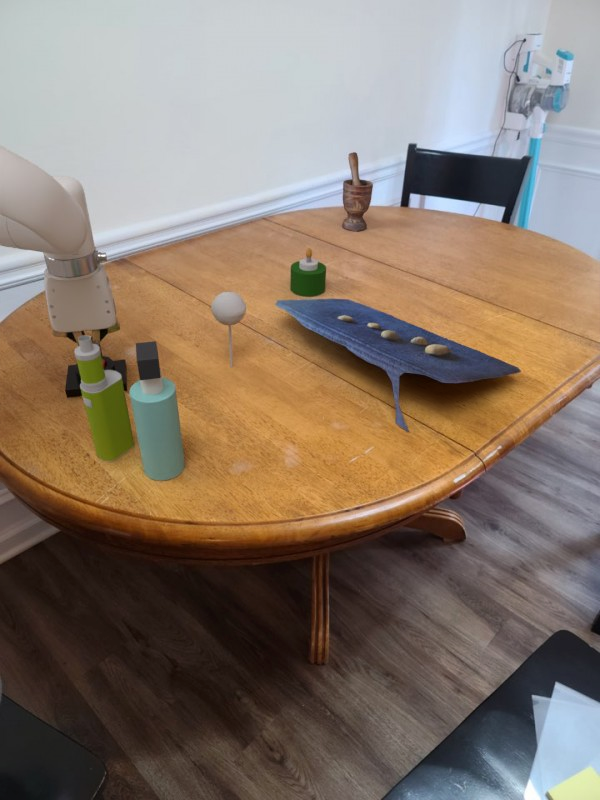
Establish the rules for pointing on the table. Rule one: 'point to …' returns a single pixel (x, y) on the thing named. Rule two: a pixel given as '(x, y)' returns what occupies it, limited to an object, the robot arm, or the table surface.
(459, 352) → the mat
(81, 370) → the vape
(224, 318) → the lollipop
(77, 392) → the button box
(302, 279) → the candle
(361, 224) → the mortar and pestle
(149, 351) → the spray bottle
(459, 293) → the table surface
